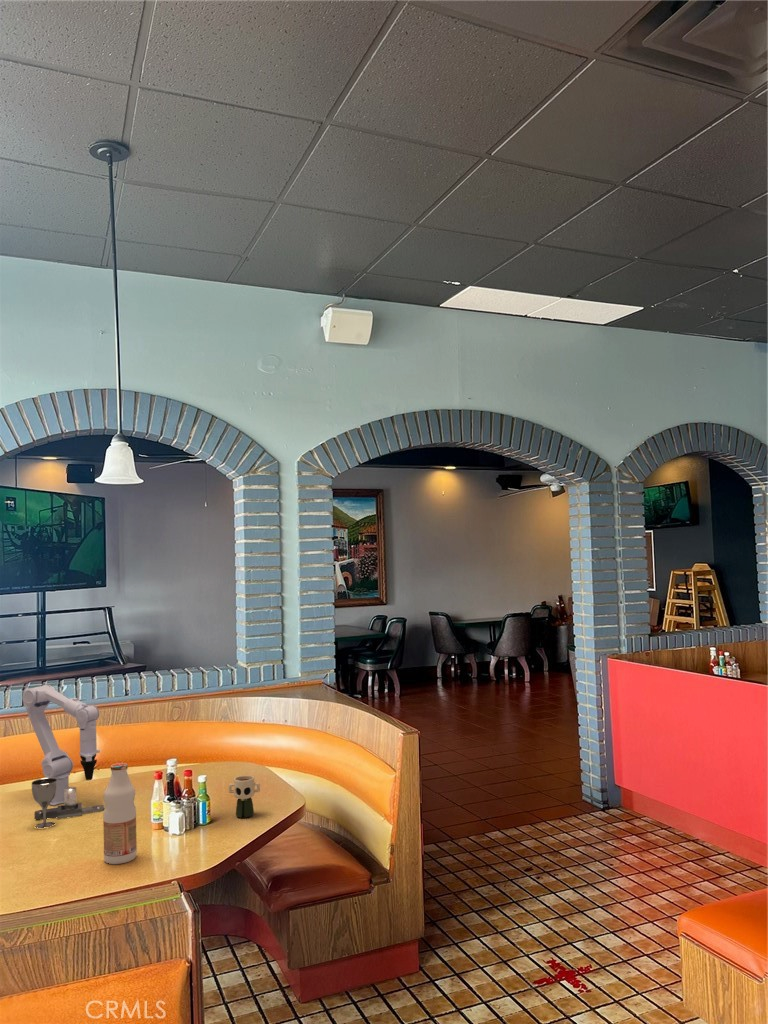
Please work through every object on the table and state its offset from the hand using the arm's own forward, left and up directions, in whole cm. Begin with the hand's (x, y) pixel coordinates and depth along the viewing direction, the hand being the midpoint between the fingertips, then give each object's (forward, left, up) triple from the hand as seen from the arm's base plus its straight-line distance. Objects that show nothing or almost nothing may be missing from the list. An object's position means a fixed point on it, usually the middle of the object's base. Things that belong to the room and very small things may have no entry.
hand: (88, 776), depth 286 cm
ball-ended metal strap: (+4, -9, -10) cm, 14 cm away
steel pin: (+4, -9, -10) cm, 14 cm away
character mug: (+56, +29, -11) cm, 64 cm away
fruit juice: (+57, -18, -11) cm, 61 cm away
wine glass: (+8, -20, -11) cm, 24 cm away
